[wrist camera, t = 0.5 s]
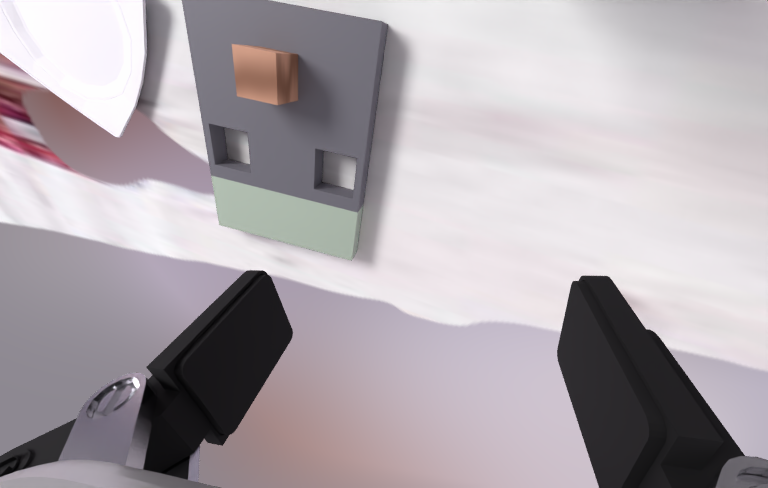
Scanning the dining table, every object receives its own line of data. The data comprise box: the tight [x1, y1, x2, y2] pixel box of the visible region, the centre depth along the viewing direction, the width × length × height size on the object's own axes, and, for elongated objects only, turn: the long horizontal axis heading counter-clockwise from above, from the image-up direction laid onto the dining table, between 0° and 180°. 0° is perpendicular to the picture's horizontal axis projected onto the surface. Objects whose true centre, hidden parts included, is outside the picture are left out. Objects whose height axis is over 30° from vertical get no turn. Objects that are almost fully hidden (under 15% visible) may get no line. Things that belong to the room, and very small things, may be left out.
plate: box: [0, 0, 147, 137], centre depth 41 cm, size 24×24×3 cm
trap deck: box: [182, 0, 388, 261], centre depth 42 cm, size 32×24×3 cm
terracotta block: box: [232, 44, 298, 105], centre depth 34 cm, size 5×5×5 cm
